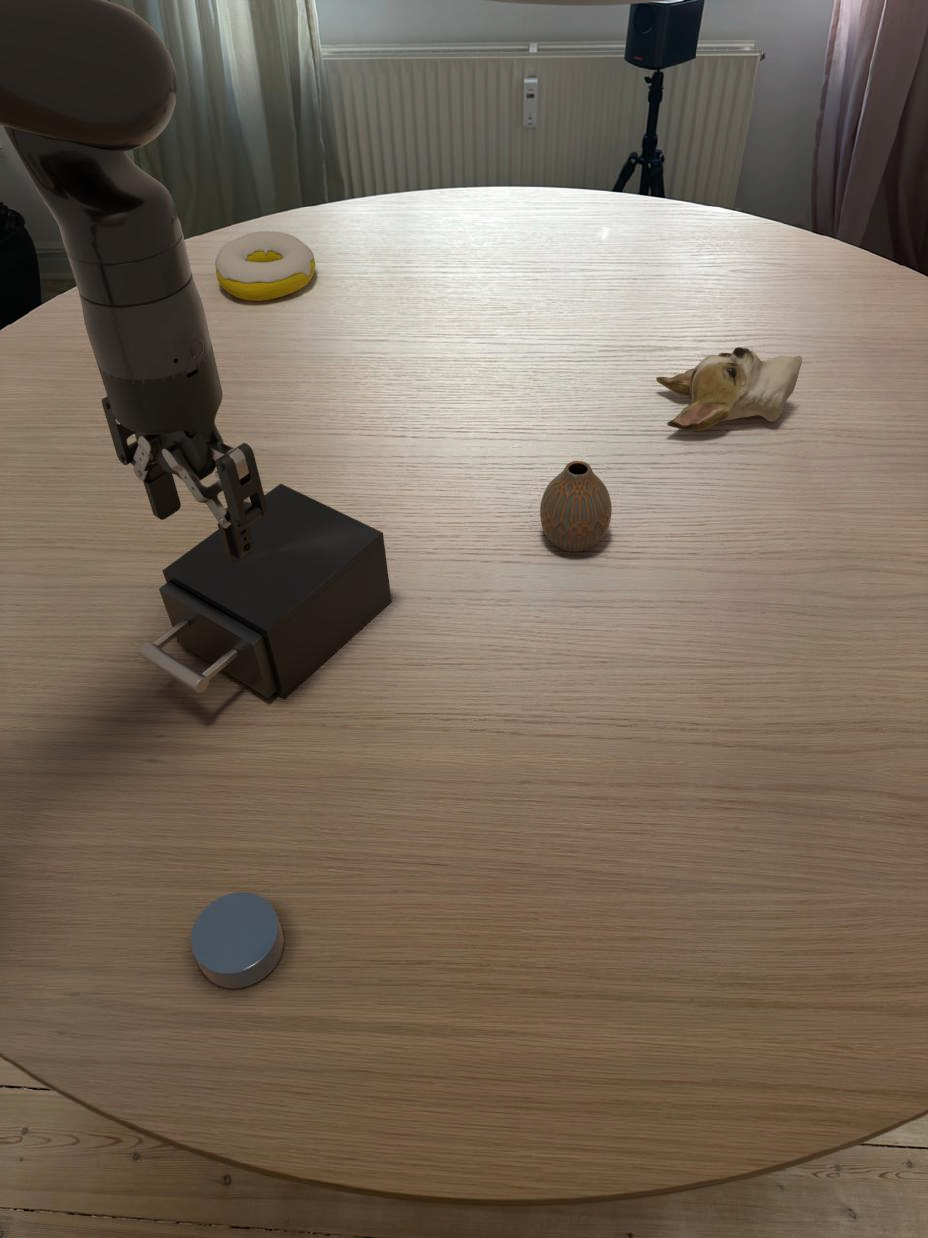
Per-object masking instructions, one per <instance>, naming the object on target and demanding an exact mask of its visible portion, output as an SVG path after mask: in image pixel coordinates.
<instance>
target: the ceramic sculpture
mask: <svg viewBox="0 0 928 1238" xmlns="http://www.w3.org/2000/svg"><path fill="white" fill-rule="evenodd" d="M802 364H803V357H802V356H801V355H795V356H787V355H780V356H779V355H778V356H776V357H775V356H774V357H771V358H768V359H765V360H761V359H760V358H759V356H758V354H757V353H756V352H754V351H753V350H750V349H749V348H746V347H739V346H738V347H735V348H734V349H733V351H732V352H731V353H730V352H719V354H711V355H708V356H706V357H705V358H704V359H702V360H701V361H700V362H699V363H698V364H696V366H695V367H694V368H690V369H687V370H686V371H684V372H683V373H678V374H676V375H674V376H673V377H668V376H667V377H666V376H657V377H655V380H656V382H657V383H659V384H660V385H661V386H663V387H665V388H666V389H668V390H669V391H671V392H674V393H675V394H678V395H680V396H686V397H687V396H689V399H690V404H689V405H687V406H685V407H683V408H682V410H681V411H680V412H679V413H678V414H677V415H676V417H675V418H674V419H672V420H670V421H668V422H667V423H666V425H667V427H671V428H676V429H680V430H685V431H693V432H694V431H695V432H702V431H705V430H707V429H710V428H712V427H714V426H716V425H717V424H720V423H722V422H723V421H725V422H726V421H730V420H736V419H741V418H747V417H753V416H761V417H763V418H764V419H765V420H766V421H768V422H775V421H777V420H778V418H779V417H780V416H781V414H782V412H783V408H784V406H785V405H786V403H787V401H788V400H789V398H790V397H791V395H792V394H793V393H794V391H795V387H796V385H797V382H798V378H799V374H800V369H801V368H802Z"/></svg>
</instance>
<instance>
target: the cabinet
mask: <svg viewBox="0 0 928 1238" xmlns="http://www.w3.org/2000/svg"><path fill="white" fill-rule="evenodd" d="M264 496H265V500H266V504H267V508H268V514H267V515H265V516H264V517H261V518H260V519H258V520H257V521H256V522H254V523H253V524H251V525H250V527H251V531H252V536H253V540H254V545H255V548H254V550H253V551H252V553H251V554H249V555H248V556H246V557H245V558H244V559H242V560H241V561H239V562H238V563H233V562H231V561H229V560H228V559H226V556H225V552H224V548H223V544H222V540H221V536H220V532H219V528H218V529H217V530H215V531H214V532H212V533H211V534H210V535H208V536H207V537H206V538H204V539H203V540H201V541H200V542H199V543H198V544H196V545H195V546H193V547H192V548H191V549H189V550H188V551H186V552H185V553H183V555H181V556H180V557H179V558H177V559H176V560H175V561H172V562H171V563H170V564H169V565H168V566H166V567H165V568H163V569H162V573H163V577H164V580H165V582H166V583H167V582H169V581H170V582H172V583H173V584H175V585H177V586H178V587H180V588H182V589H184V590H185V591H187V592H189V593H191V594H192V593H193V594H195V595H196V596H198V597H200V598H201V599H203V600H205V601H207V602H208V603H210V604H212V605H213V606H215V607H217V608H219V609H220V610H222V611H224V612H226V613H227V614H229V615H231V616H232V617H234V618H236V619H238V620H239V621H241V622H243V623H244V624H246V625H248V626H250V627H251V628H253V629H255V630H257V631H258V632H260V633H262V635H263V637H264V641H265V645H266V649H267V652H268V656H269V660H270V664H271V667H272V671H273V675H274V679H275V682H276V686H277V691H275V692H274V693H273V694H275V695H277V696H279V697H280V698H282V699H284V700H285V699H286V698H288V696H290V695H291V694H292V693H293V692H294V691H295V690H296V689H297V688H298V687H299V686H301V685H302V684H303V683H304V682H305V681H306V680H307V679H308V678H309V677H310V676H312V675H313V674H314V673H315V672H316V671H317V670H318V669H319V668H321V666H323V665H324V664H325V663H326V662H327V661H328V660H329V659H330V658H331V657H333V656H334V655H335V654H336V653H337V652H338V651H339V650H340V649H341V648H342V647H344V646H345V645H346V644H347V643H348V642H349V641H350V640H351V639H352V638H353V637H355V636H356V635H357V634H358V633H359V632H360V631H361V630H362V629H364V628H365V627H366V625H368V624H369V623H370V622H371V621H372V620H373V619H375V617H376V616H378V615H379V614H380V613H381V612H382V611H384V609H385V608H387V606H389V604H390V603H392V593H391V586H390V585H391V584H390V578H389V570H388V561H387V555H386V545H385V538H384V532H382V531H381V530H379V529H377V528H374V527H372V526H371V525H368V524H366V523H364V522H362V521H360V520H358V519H356V518H354V517H351V516H350V515H347V514H345V513H343V512H341V511H339V510H337V509H335V508H333V507H331V506H329V505H327V504H324V503H322V502H320V501H318V500H316V499H314V498H311V497H310V496H308V495H306V494H304V493H302V492H299V491H298V490H296V489H293V488H291V487H289V486H287V485H285V484H283V483H279V484H278V485H276V486H275V487H274V488H273V489H271V490H270V491H268V492H267V493H266V494H264ZM166 583H165V584H166ZM193 594H192V595H193Z"/></svg>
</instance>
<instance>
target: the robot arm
mask: <svg viewBox="0 0 928 1238" xmlns="http://www.w3.org/2000/svg"><path fill="white" fill-rule="evenodd" d="M176 71H177V70H176V68H175V65H174V60H173V58H172V56H171V54H170V52H169V50H168V47H167V46H166V44H165V42H164V41H163V39H162V38H161V37H160V36H159V34H158V33H157V31H155V30H154V28H153V27H152V26H151V24H149V23H148V22H147V21H146V20H145V19H144V18H142V17H141V16H139V15H138V14H137V13H136V12H134V11H132V10H130V9H129V8H127V7H124V6H123V5H120V4H117V3H114V2H111V1H107V0H0V126H1V127H2V129H3V130H4V132H5V135H6V136H7V138H8V140H9V142H10V144H11V146H12V147H13V149H14V151H15V153H16V155H17V156H18V158H19V160H20V162H21V164H22V166H23V168H24V169H25V171H26V173H27V175H28V177H29V178H30V180H31V182H32V184H33V185H34V187H35V189H36V192H37V193H38V194H39V196H40V197H41V199H42V201H43V202H44V204H45V205H46V207H47V208H48V210H49V212H50V214H51V215H52V217H53V218H54V221H55V222H56V224H57V226H58V229H59V232H60V235H61V239H62V243H63V247H64V249H65V252H66V256H67V259H68V263H69V265H70V269H71V272H72V275H73V279H74V281H75V284H76V288H77V291H78V295H79V298H80V303H81V309H82V315H83V322H84V327H85V329H86V333H87V336H88V341H89V342H90V343H89V344H90V346H91V349H92V352H93V355H94V358H95V362H96V365H97V368H98V371H99V374H100V378H101V381H102V384H103V387H104V391H105V393H106V396H105V397H103V398H101V405H102V409H103V412H104V415H105V419H106V422H107V425H108V429H109V433H110V436H111V440H112V443H113V447H114V450H115V453H116V457H117V459H118V461H119V462H120V463H121V464H122V465H123V466H128V465H129V464H131V465H132V466H133V472H134V474H135V476H136V477H137V479H138V480H139V481H142V483H143V486H144V489H145V493H146V495H147V498H148V502H149V505H150V508H151V512H152V514H153V516H154V517H156V518H157V519H159V520H161V521H163V520H166V519H167V518H169V517H171V516H172V515H173V514H175V513H177V512H178V511H179V510H180V509H181V507H182V503H181V499H180V496H179V493H178V489H177V485H176V482H175V478H174V475H175V476H176V477H178V478H179V479H180V480H181V481H183V483H184V484H185V486H186V487H187V489H188V490H189V492H190V493H191V495H192V496H193V498H194V500H195V501H196V502H198V503H199V504H205V505H206V506H207V507H208V509H209V510H210V512H211V514H212V515H213V516H214V518H215V519H216V521H217V528H218V529H219V532H220V536H221V540H222V544H223V548H224V552H225V556H226V559H228V560H229V561H231V562H233V563H238V562H239V561H241V560H242V559H244V558H245V557H246V556H248V555H249V554H251V553H252V551H253V550H254V548H255V545H254V540H253V536H252V531H251V527H250V525H251V524H253V523H254V522H256V521H257V520H258V519H260V518H261V517H264V516H265V515H267V514H268V508H267V504H266V500H265V496H264V495H265V492H264V489H263V484H262V481H261V476H260V473H259V468H258V465H257V461H256V457H255V453H254V450H253V449H252V447H251V446H250V445H249V444H248V443H246V442H243V443H241V444H240V445H238V446H236V447H233V446H230V445H228V444H226V443H225V442H224V439H223V436H222V435H221V433H220V432H219V428H217V425H216V421H215V420H216V418H217V414H218V411H219V410H220V407H221V404H222V402H223V388H222V384H221V383H222V382H221V379H220V374H219V371H218V366H217V361H216V356H215V352H214V349H213V343H212V339H211V335H210V330H209V326H208V322H207V321H208V320H207V315H206V312H205V308H204V303H203V301H202V298H201V296H200V293H199V290H198V288H197V286H196V282H195V280H194V276H193V273H192V268H191V263H190V259H189V254H188V250H187V245H186V241H185V238H184V233H183V228H182V223H181V220H180V217H179V213H178V209H177V206H176V204H175V201H174V199H173V196H172V194H171V193H170V191H169V190H168V188H167V187H166V186H165V185H164V184H162V182H161V181H159V180H158V179H156V178H154V177H153V176H151V175H150V174H148V173H147V172H146V171H144V170H143V169H142V168H140V167H139V166H138V165H137V164H135V163H134V161H133V160H132V159H131V157H129V155H128V154H127V152H128V151H133V150H136V149H139V148H142V147H144V146H146V145H147V144H150V143H152V141H154V140H156V138H158V137H159V136H160V135H161V134H162V133H163V132H164V131H165V129H166V128H167V126H168V125H169V123H170V121H171V120H172V118H173V115H174V113H175V110H176V107H177V102H178V95H179V93H178V92H179V86H178V85H179V84H178V83H179V82H178V75H177V72H176ZM133 435H134V436H135V441H133V442H131V443H130V444H128V439H129V438H130V437H131V436H133ZM215 469H216V471H215ZM214 471H215V472H214ZM212 473H214V476H215V477H216V479H218V480H216V481H215V482H213V483H212V484H210V485H208V486H206V485H204V484H203V483H202V482H201V481H202V480H204V479H206V478H207V477H209V476H210V475H212ZM222 492H223V496H224V499H225V503H226V506H227V507H225V506H224V505H223V503H222V502H221V500H220V499H219V494H220V493H222ZM248 498H249V499H248Z"/></svg>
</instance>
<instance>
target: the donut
mask: <svg viewBox="0 0 928 1238" xmlns="http://www.w3.org/2000/svg"><path fill="white" fill-rule="evenodd" d="M214 266H215V275H216V278H217V282H218V283H219V285H220V286H221V287H222V289H224V291H226V292H227V293H228V294H230V295H232V296H233V297H235V298H238V299H241V300H243V301H253V302H260V301H269V300H274V299H278V298H282V297H285V296H287V295H291V294H293V293H295V292H298V291H299V290H301V289H303V288H304V287H305V286H306V285H307V284H308V283H309V282H310V281H311V279H312V278H313V276H314V273H315V269H316V259H315V255H314V253H313V251H312V249H311V248H310V247H309V246H308V245H307V244H306V243H304V242H302V241H301V240H300V239H299V238H298V237H296V236H294V235H292V234H289V233H285V232H280V231H269V230H264V231H254V232H250V233H247V234H244V235H241V236H239V237H237V238H235V239H232V240H231V241H229V242H228V243H227V242H226V244H224V245H223V246H222V247H221V248H220V249H219V250H218V253H217V255H216V258H215V261H214Z"/></svg>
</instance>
